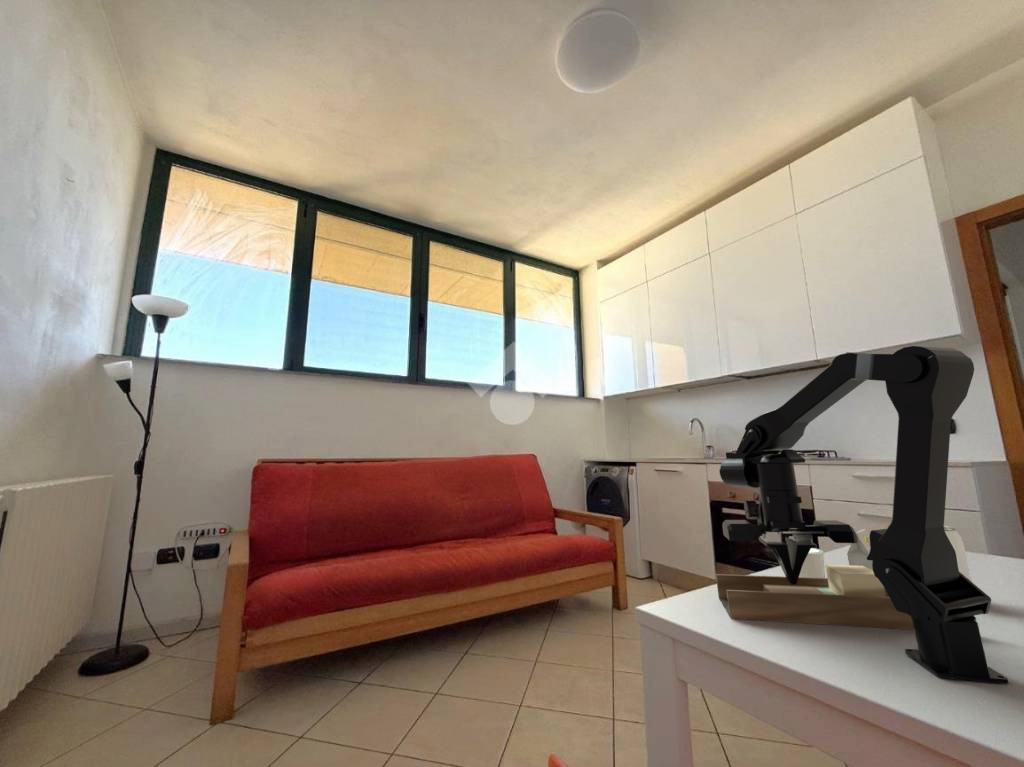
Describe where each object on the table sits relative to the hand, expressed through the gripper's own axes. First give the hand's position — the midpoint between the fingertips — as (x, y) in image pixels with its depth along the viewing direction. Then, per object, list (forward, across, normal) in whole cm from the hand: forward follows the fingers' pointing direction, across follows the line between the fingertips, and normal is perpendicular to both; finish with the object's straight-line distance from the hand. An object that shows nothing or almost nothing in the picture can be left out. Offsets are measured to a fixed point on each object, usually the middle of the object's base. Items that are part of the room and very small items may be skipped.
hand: (792, 583), depth 69 cm
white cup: (+5, -7, -15) cm, 17 cm away
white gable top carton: (+5, -19, -19) cm, 27 cm away
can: (+4, -27, -11) cm, 29 cm away
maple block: (+1, -9, 0) cm, 9 cm away
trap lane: (+4, -4, 0) cm, 6 cm away
